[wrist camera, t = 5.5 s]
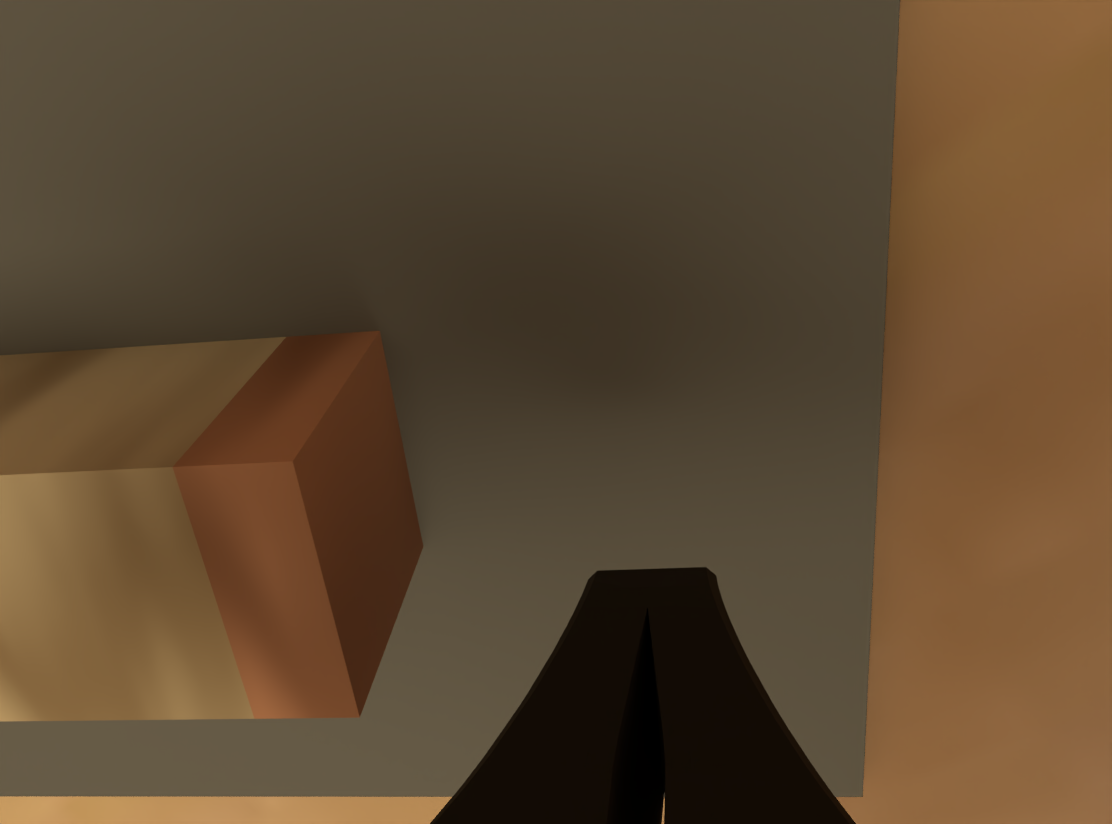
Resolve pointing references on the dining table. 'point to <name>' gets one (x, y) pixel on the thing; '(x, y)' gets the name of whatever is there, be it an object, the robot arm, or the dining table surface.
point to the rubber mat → (490, 321)
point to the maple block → (200, 529)
